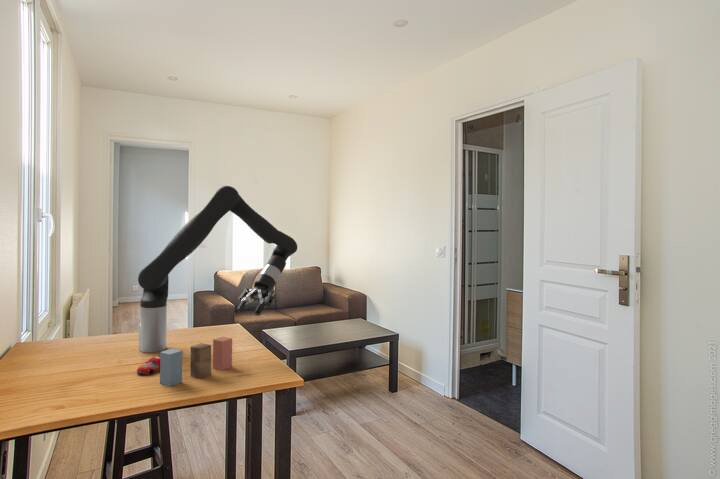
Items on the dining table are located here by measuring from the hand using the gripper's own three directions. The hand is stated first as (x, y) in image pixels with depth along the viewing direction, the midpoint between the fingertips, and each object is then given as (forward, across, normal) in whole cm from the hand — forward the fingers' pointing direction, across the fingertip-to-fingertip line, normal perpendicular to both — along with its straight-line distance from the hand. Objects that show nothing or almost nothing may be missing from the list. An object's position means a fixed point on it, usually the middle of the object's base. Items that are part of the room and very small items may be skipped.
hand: (247, 312), depth 158 cm
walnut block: (+28, 0, -3) cm, 28 cm away
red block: (+21, 0, +3) cm, 21 cm away
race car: (+30, -18, -6) cm, 36 cm away
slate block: (+34, -3, -10) cm, 35 cm away
